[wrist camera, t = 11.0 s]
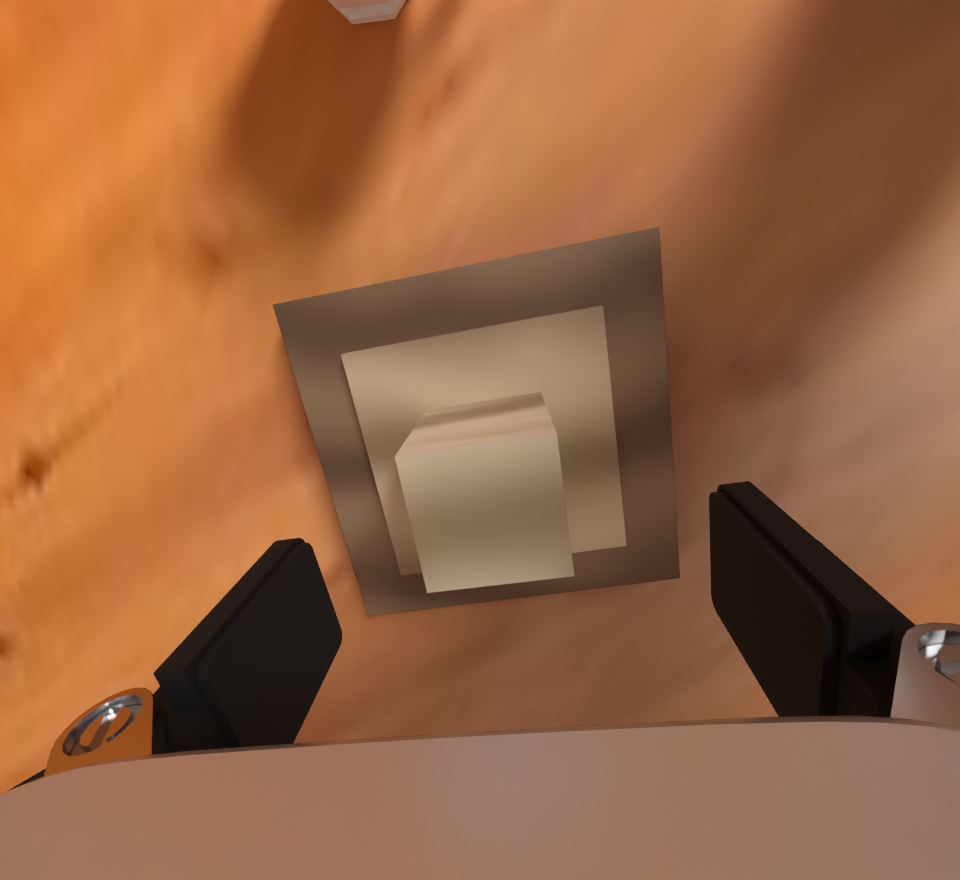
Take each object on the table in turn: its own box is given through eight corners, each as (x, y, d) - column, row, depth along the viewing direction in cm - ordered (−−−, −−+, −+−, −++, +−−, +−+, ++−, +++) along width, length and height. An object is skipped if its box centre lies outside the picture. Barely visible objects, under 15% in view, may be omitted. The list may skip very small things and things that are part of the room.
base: (293, 304, 21) (266, 305, 18) (643, 234, 19) (663, 225, 17) (378, 592, 26) (365, 622, 23) (665, 555, 24) (683, 584, 22)
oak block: (426, 409, 20) (394, 456, 14) (540, 392, 19) (556, 432, 13) (447, 512, 21) (427, 592, 15) (554, 498, 20) (574, 576, 15)
